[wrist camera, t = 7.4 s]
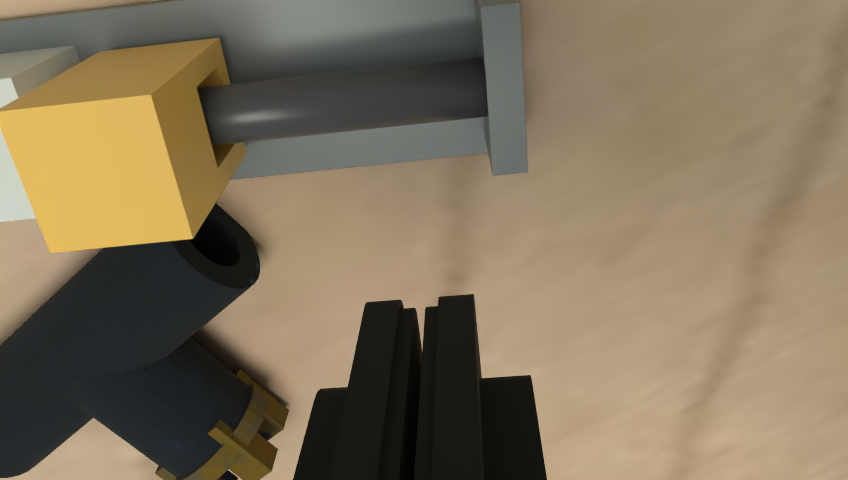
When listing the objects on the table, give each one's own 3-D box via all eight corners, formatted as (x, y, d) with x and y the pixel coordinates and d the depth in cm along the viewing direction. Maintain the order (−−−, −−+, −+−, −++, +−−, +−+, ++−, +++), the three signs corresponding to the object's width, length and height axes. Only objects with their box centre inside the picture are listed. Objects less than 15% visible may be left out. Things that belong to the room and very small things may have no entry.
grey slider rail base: (509, -40, 26) (527, -20, 21) (519, 144, 29) (537, 197, 24) (-28, 23, 27) (-122, 56, 22) (40, 194, 30) (-31, 253, 25)
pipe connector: (361, 416, 29) (129, 579, 34) (372, 341, 34) (167, 493, 38) (136, 221, 25) (-91, 435, 30) (184, 167, 30) (-18, 358, 35)
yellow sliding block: (219, 37, 26) (150, 94, 19) (247, 152, 28) (193, 238, 21) (100, 51, 26) (-7, 112, 20) (136, 164, 28) (50, 252, 22)
